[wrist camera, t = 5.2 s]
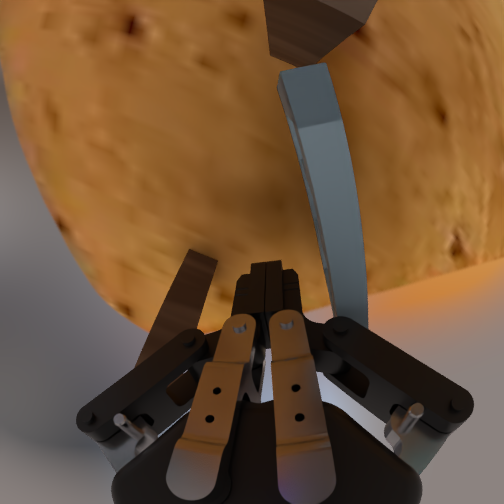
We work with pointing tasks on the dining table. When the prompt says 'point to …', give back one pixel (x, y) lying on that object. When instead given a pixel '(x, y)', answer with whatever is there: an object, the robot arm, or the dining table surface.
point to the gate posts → (298, 54)
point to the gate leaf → (328, 184)
